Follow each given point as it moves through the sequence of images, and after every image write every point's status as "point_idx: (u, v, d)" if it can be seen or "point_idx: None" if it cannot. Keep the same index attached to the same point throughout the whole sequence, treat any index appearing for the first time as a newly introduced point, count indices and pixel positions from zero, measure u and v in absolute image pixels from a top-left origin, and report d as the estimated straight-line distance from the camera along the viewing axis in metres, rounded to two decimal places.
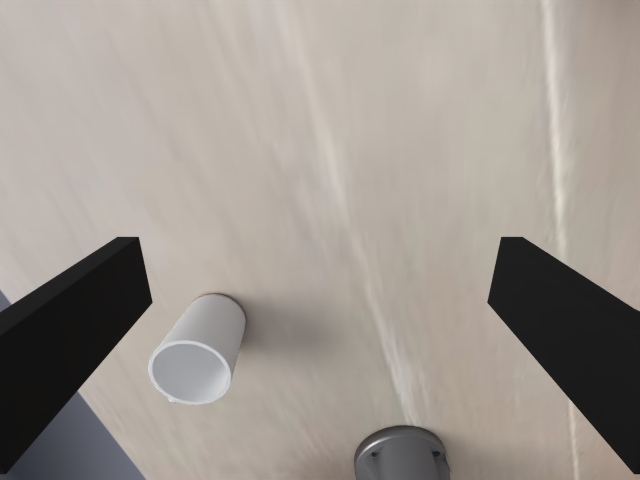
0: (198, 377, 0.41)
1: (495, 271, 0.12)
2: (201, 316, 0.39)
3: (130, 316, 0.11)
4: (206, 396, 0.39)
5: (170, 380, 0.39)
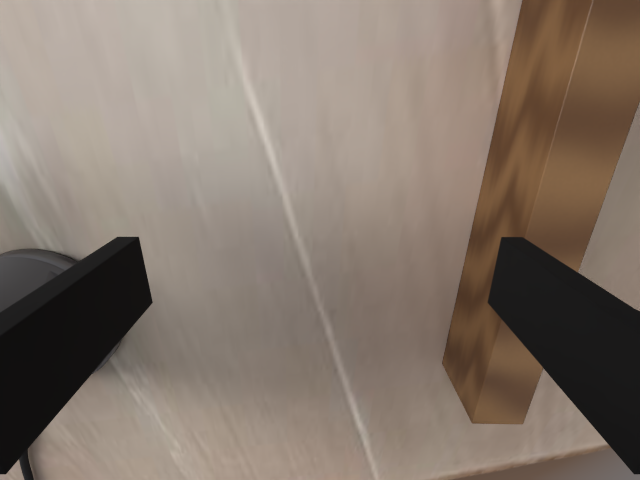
0: None
1: (495, 271, 0.12)
2: None
3: (130, 316, 0.11)
4: None
5: None
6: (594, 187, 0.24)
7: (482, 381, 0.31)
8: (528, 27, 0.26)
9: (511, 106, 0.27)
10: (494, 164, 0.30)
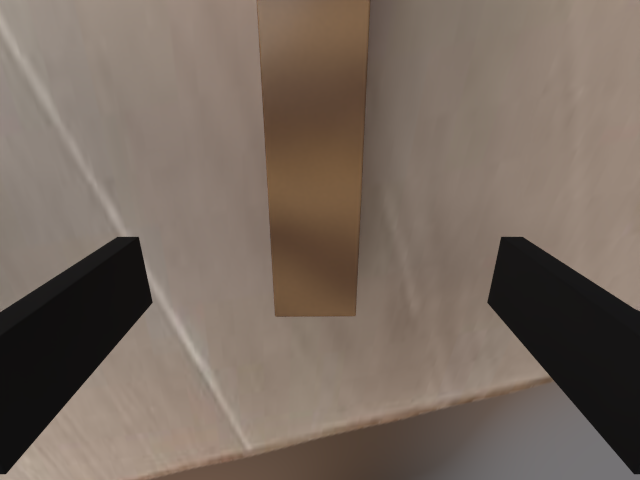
0: None
1: (495, 271, 0.12)
2: None
3: (130, 316, 0.11)
4: None
5: None
6: None
7: (271, 241, 0.19)
8: None
9: None
10: None
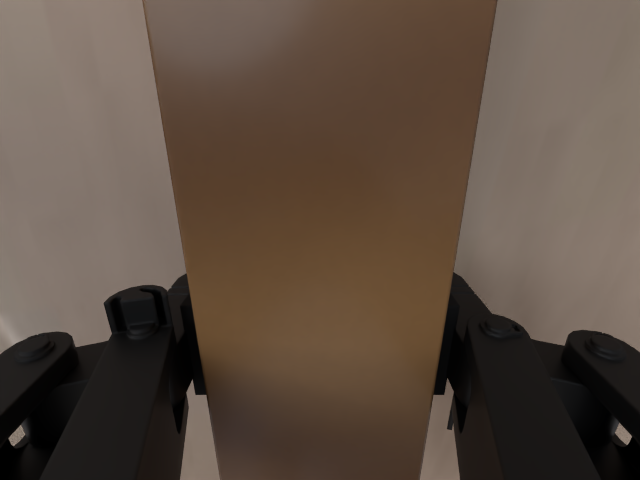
0: None
1: None
2: None
3: None
4: None
5: None
6: None
7: (214, 432, 0.08)
8: None
9: None
10: None
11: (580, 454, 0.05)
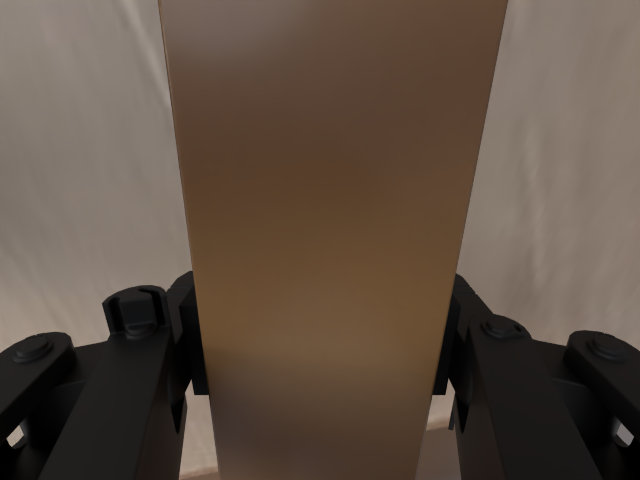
0: None
1: None
2: None
3: None
4: None
5: None
6: None
7: (214, 427, 0.08)
8: None
9: None
10: None
11: (582, 455, 0.05)
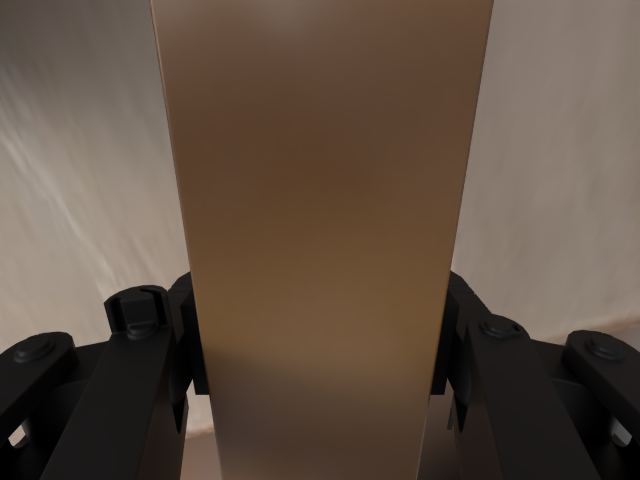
0: None
1: None
2: None
3: None
4: None
5: None
6: None
7: (216, 429, 0.08)
8: None
9: None
10: None
11: (580, 454, 0.05)
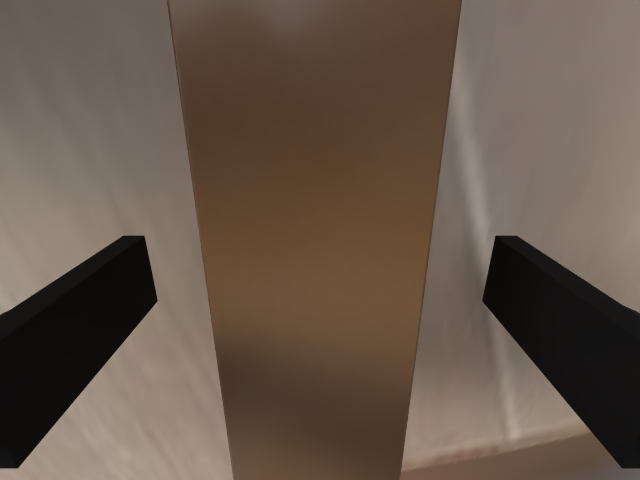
0: None
1: (490, 270, 0.13)
2: None
3: (136, 314, 0.12)
4: None
5: None
6: None
7: (221, 381, 0.09)
8: None
9: None
10: None
11: None
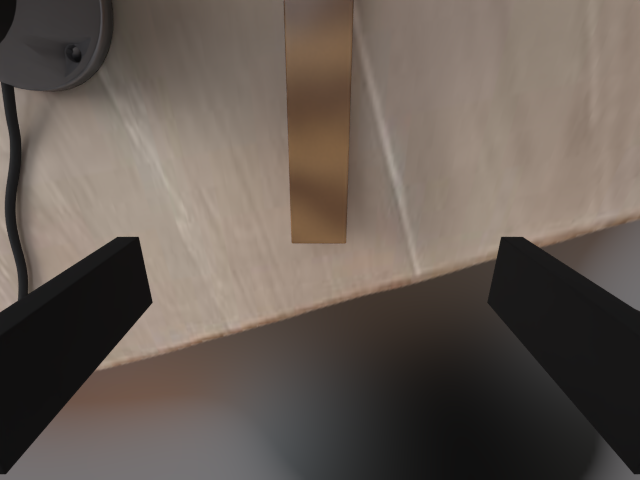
0: None
1: (495, 271, 0.12)
2: None
3: (130, 316, 0.11)
4: None
5: None
6: None
7: (290, 190, 0.29)
8: None
9: None
10: None
11: None
